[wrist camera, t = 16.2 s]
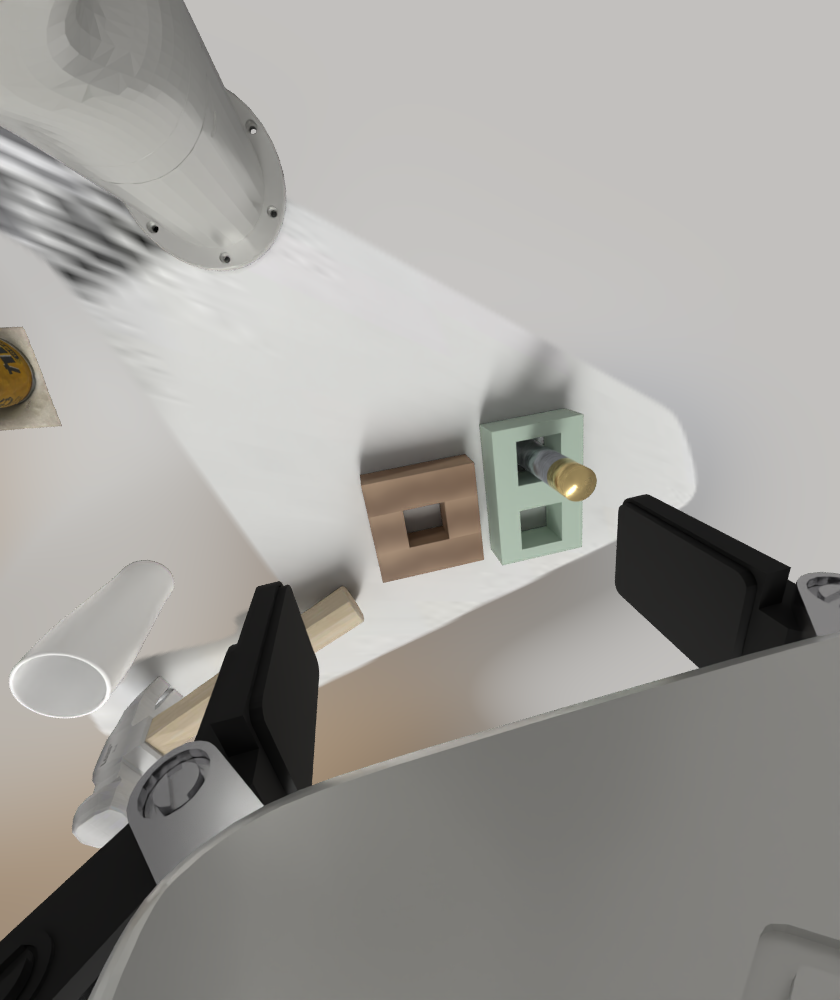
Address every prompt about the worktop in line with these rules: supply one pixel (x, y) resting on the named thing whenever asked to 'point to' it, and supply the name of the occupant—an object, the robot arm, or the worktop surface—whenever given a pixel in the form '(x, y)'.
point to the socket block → (418, 488)
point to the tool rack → (530, 486)
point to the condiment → (22, 385)
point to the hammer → (175, 728)
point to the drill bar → (556, 470)
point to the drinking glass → (92, 645)
